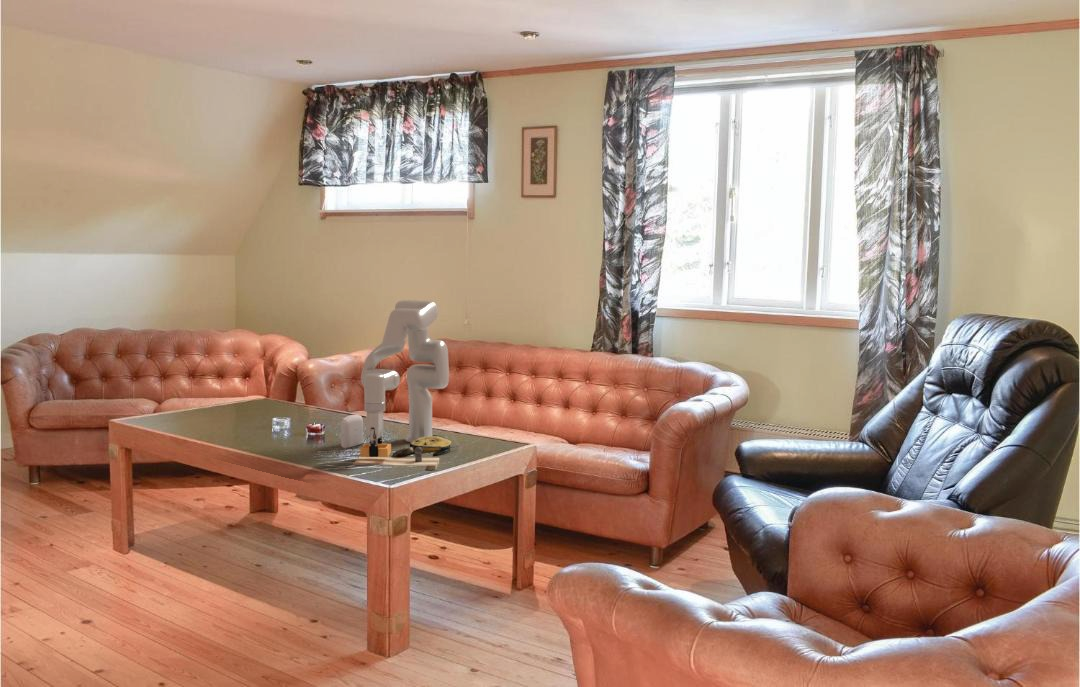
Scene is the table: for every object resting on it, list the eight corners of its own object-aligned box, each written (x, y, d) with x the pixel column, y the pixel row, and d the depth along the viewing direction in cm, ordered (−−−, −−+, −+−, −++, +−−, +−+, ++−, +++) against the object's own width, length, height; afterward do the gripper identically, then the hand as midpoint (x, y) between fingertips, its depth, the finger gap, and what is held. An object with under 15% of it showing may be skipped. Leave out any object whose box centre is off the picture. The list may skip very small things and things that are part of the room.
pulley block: (382, 440, 334) (437, 429, 358) (380, 455, 335) (436, 442, 359) (408, 452, 326) (463, 439, 349) (406, 466, 327) (461, 453, 351)
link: (364, 451, 329) (364, 443, 328) (391, 452, 329) (390, 443, 328) (360, 456, 322) (360, 448, 321) (387, 457, 322) (387, 448, 321)
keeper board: (359, 460, 331) (359, 442, 330) (439, 461, 331) (439, 443, 330) (352, 468, 319) (352, 449, 318) (435, 469, 319) (435, 450, 318)
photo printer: (347, 448, 349) (347, 418, 348) (339, 447, 351) (339, 416, 350) (364, 443, 358) (364, 413, 357) (356, 442, 360) (356, 412, 359)
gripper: (369, 401, 331) (370, 447, 334) (359, 411, 314) (360, 460, 317) (389, 401, 331) (390, 447, 334) (380, 411, 314) (381, 460, 316)
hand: (375, 453), depth 325 cm, fingers closed on link, 7 cm apart
